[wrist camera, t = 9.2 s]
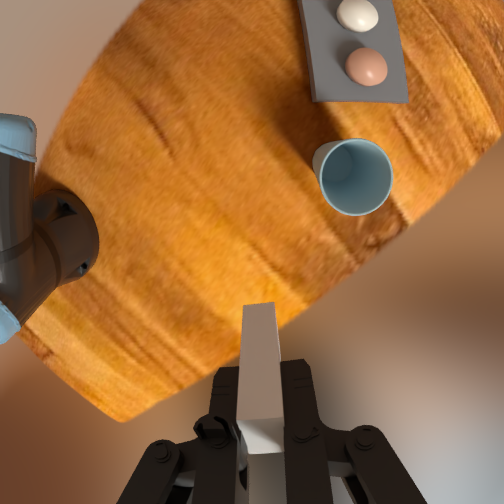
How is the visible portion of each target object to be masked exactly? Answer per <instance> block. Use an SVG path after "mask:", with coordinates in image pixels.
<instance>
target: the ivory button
mask: <svg viewBox="0 0 504 504" xmlns="http://www.w3.org/2000/svg"><path fill="white" fill-rule="evenodd" d="M336 15H337V18H338V21H339V22H340V24H341V25H342V26H343V27H344V28H346V29H347V30H349V31H351V32H355V33H365V32H367V31H369V30H370V29H371V28H373V27H374V26H375V25H376V24H377V22H378V13H377V11H376V9H375V7H374V6H373V5H372V4H371V3H370V2H368V1H367V0H343V1H342V3H341V4H340V5H339V7H338V8H337V12H336Z"/></svg>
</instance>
